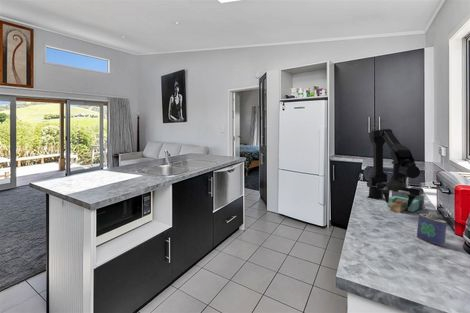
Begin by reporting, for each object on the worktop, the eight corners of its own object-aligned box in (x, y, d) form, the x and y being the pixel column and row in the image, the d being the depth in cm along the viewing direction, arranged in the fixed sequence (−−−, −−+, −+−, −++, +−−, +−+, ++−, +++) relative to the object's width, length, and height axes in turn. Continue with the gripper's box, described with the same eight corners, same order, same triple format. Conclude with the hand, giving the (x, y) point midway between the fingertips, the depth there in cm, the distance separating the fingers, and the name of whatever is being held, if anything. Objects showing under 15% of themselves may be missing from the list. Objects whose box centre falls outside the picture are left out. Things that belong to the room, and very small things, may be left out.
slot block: (387, 206, 126) (387, 198, 126) (394, 203, 131) (394, 195, 130) (412, 211, 117) (413, 203, 116) (418, 208, 122) (419, 200, 121)
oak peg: (390, 211, 120) (390, 203, 119) (396, 206, 126) (397, 199, 126) (399, 213, 117) (400, 205, 116) (405, 208, 123) (406, 201, 123)
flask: (446, 246, 83) (449, 216, 82) (440, 248, 82) (442, 217, 81) (419, 235, 92) (422, 208, 91) (413, 236, 91) (415, 209, 90)
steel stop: (391, 203, 132) (391, 190, 131) (394, 201, 134) (395, 189, 133) (422, 209, 120) (423, 196, 120) (424, 208, 123) (426, 194, 122)
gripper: (371, 173, 121) (370, 203, 123) (415, 179, 106) (413, 213, 107) (382, 170, 127) (380, 199, 129) (425, 176, 112) (422, 208, 114)
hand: (397, 205), depth 120 cm, fingers open, 9 cm apart
